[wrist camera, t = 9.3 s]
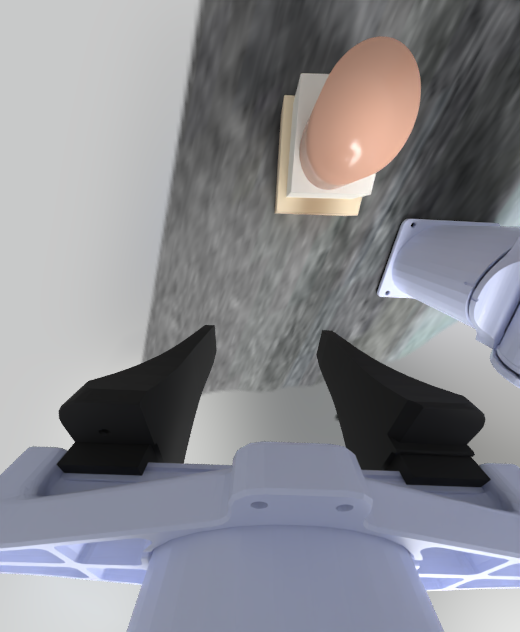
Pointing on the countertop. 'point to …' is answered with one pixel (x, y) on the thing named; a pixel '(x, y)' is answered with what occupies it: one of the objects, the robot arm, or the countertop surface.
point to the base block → (282, 202)
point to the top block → (296, 179)
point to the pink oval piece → (361, 114)
